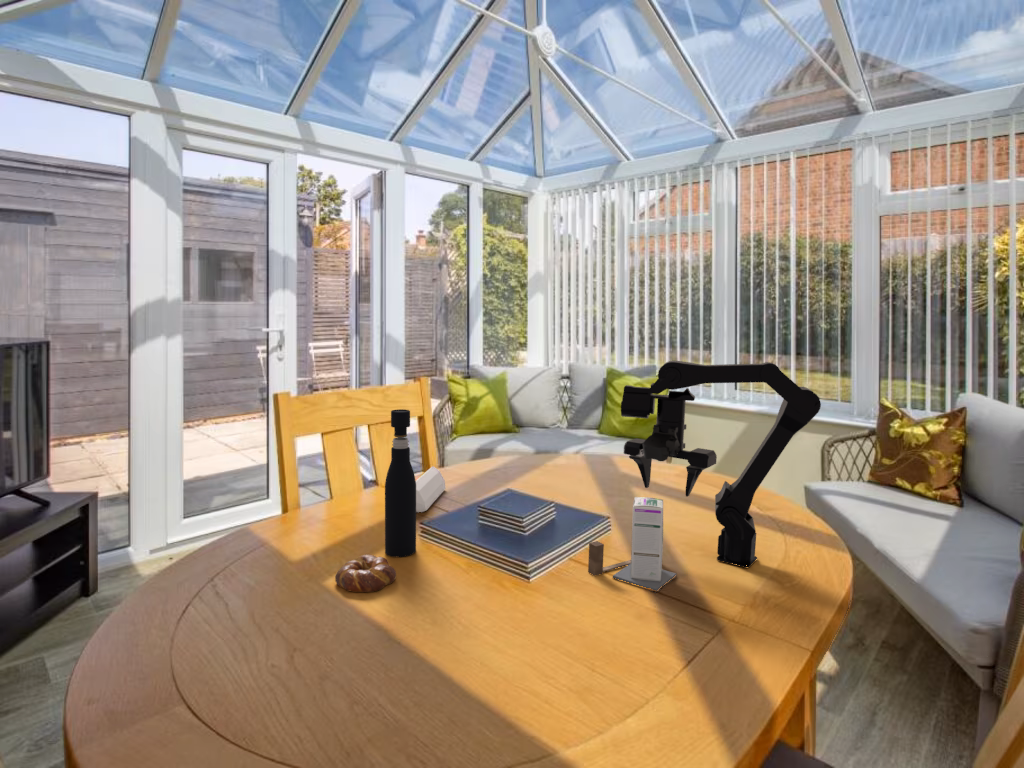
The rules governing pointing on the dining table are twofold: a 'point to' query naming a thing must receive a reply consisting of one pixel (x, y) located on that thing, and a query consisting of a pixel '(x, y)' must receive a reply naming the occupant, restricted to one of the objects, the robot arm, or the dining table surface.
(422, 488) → the crystal
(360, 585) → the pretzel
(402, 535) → the black water bottle
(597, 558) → the gate
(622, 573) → the slate tile
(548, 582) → the dining table surface
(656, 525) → the syrup box
